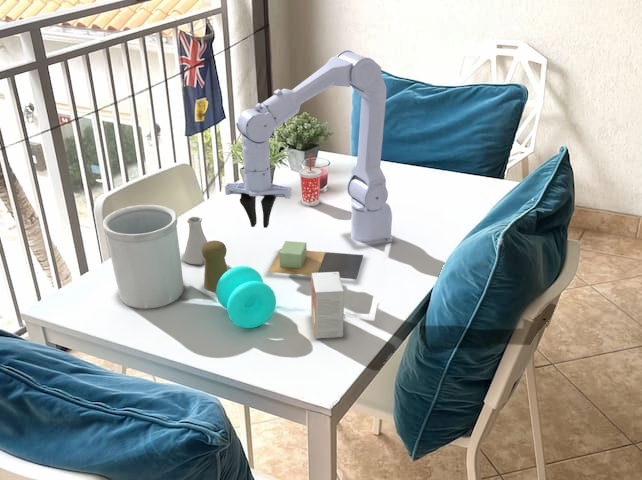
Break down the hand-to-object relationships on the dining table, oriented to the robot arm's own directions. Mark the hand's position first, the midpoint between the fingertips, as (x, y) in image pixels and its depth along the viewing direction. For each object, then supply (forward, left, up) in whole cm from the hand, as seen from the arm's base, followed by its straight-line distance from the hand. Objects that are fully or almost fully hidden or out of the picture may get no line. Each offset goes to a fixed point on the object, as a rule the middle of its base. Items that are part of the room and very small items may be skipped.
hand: (260, 225), depth 158 cm
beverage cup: (-23, -30, -10) cm, 39 cm away
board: (-11, +7, -9) cm, 16 cm away
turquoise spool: (+9, +23, -10) cm, 26 cm away
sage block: (-7, +4, -8) cm, 11 cm away
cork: (+12, +9, -10) cm, 18 cm away
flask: (+13, -7, -10) cm, 18 cm away
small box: (-5, +32, -10) cm, 33 cm away
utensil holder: (+26, +6, -10) cm, 29 cm away
